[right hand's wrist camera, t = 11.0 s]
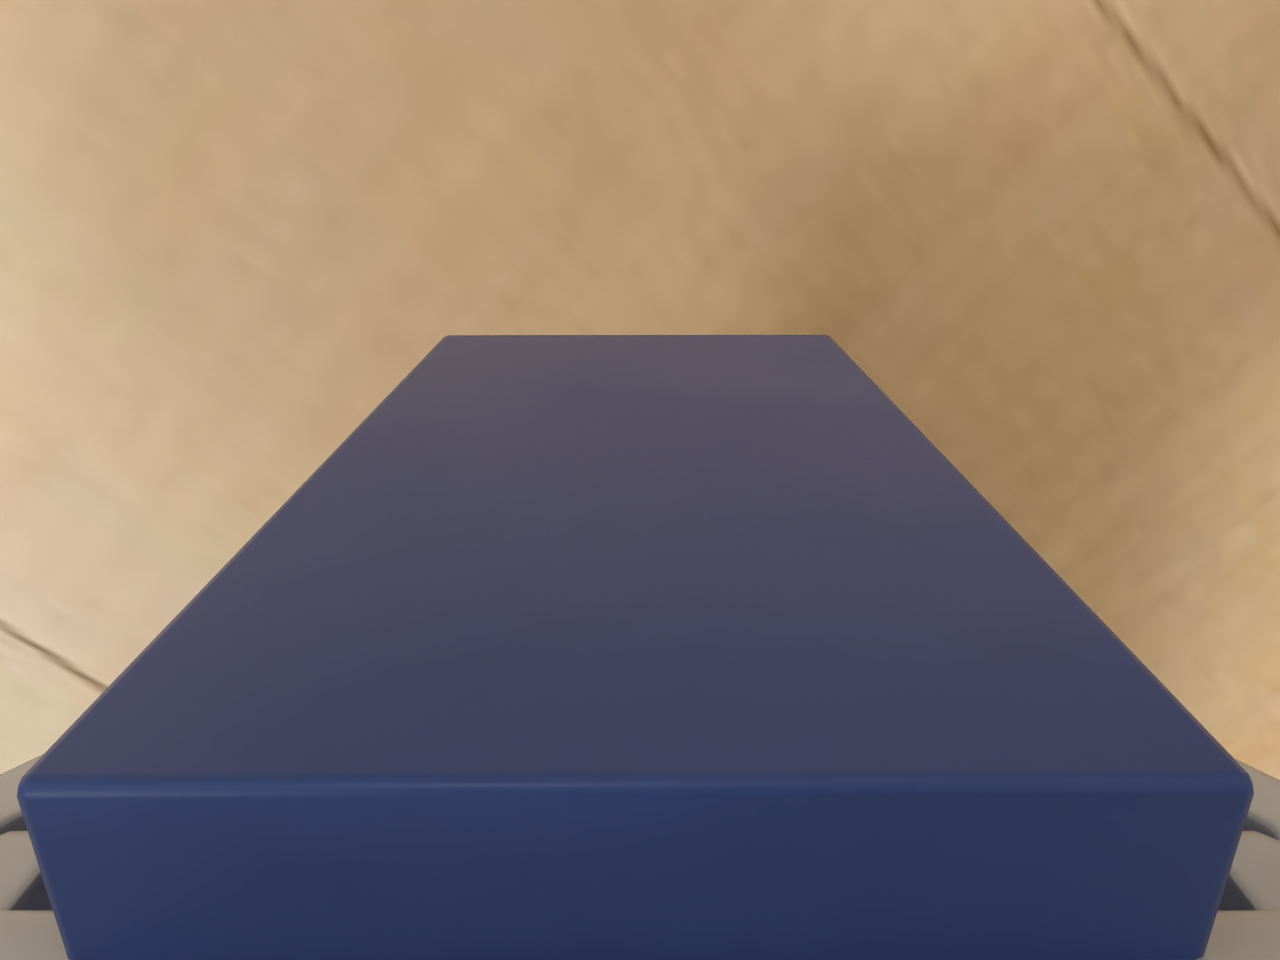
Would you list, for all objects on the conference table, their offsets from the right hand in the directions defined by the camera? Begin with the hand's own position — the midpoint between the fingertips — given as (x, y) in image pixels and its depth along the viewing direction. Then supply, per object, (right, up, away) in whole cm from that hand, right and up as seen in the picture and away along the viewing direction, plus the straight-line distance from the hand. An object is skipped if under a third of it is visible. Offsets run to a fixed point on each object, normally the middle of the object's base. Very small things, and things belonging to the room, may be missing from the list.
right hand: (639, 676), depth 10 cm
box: (0, -8, +8) cm, 12 cm away
